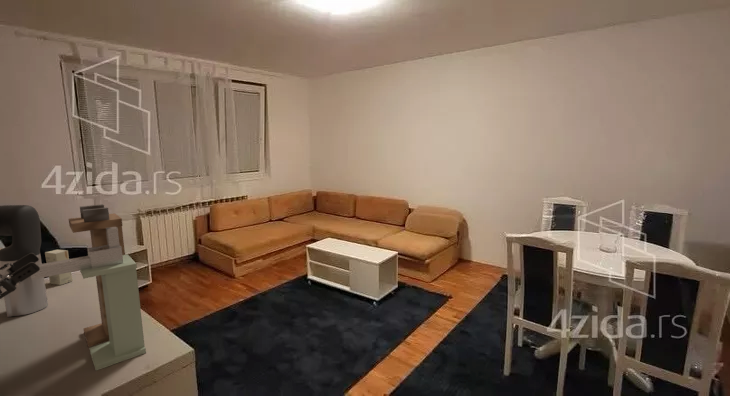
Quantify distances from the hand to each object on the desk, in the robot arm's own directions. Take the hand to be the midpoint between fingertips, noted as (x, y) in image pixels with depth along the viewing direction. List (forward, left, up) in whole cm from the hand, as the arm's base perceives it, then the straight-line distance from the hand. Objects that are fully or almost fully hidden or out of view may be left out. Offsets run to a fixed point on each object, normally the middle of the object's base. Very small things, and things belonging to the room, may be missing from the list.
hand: (36, 260), depth 74 cm
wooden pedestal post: (+12, +13, -27) cm, 32 cm away
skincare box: (+5, +70, -27) cm, 75 cm away
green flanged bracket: (+12, 0, -27) cm, 29 cm away
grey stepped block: (+7, 0, -4) cm, 8 cm away
